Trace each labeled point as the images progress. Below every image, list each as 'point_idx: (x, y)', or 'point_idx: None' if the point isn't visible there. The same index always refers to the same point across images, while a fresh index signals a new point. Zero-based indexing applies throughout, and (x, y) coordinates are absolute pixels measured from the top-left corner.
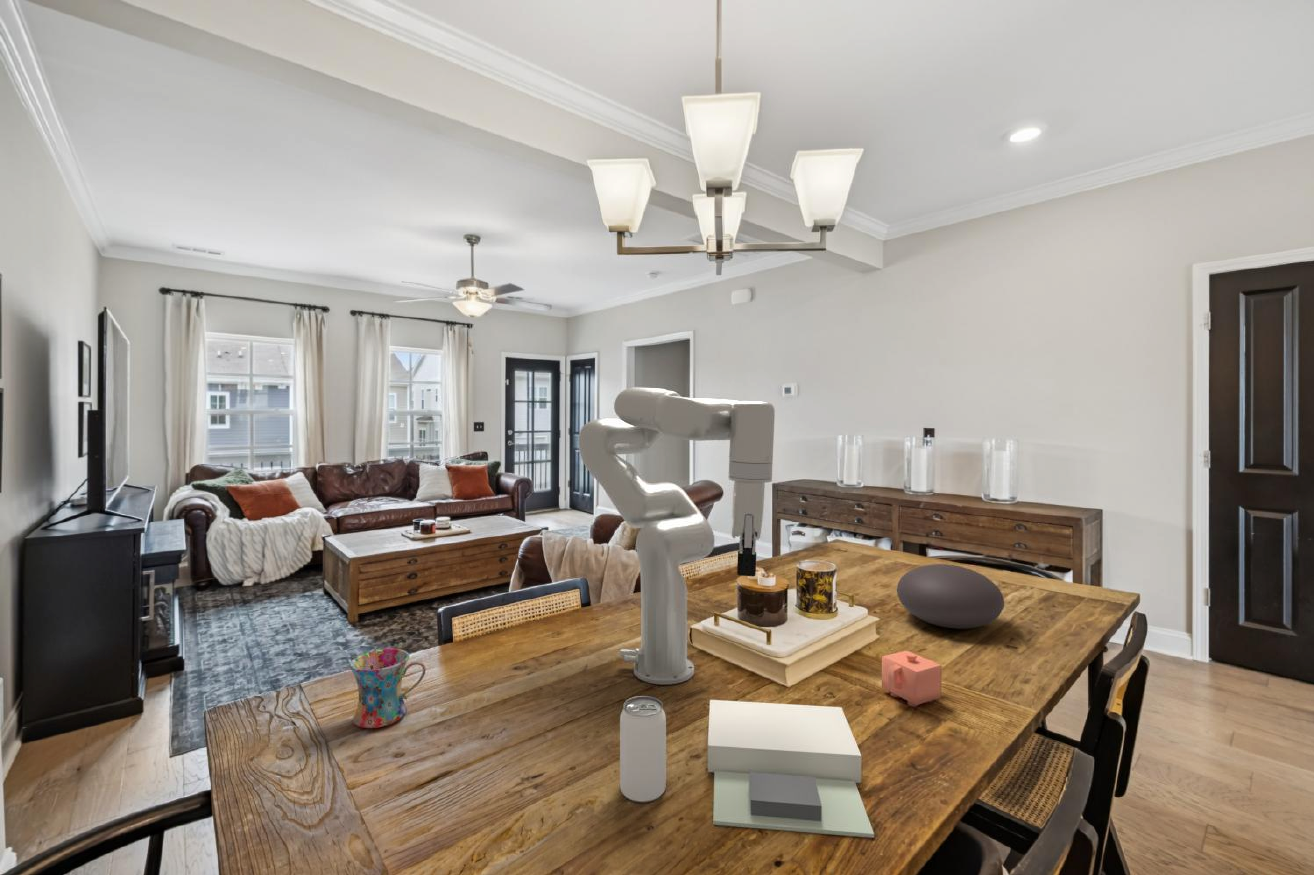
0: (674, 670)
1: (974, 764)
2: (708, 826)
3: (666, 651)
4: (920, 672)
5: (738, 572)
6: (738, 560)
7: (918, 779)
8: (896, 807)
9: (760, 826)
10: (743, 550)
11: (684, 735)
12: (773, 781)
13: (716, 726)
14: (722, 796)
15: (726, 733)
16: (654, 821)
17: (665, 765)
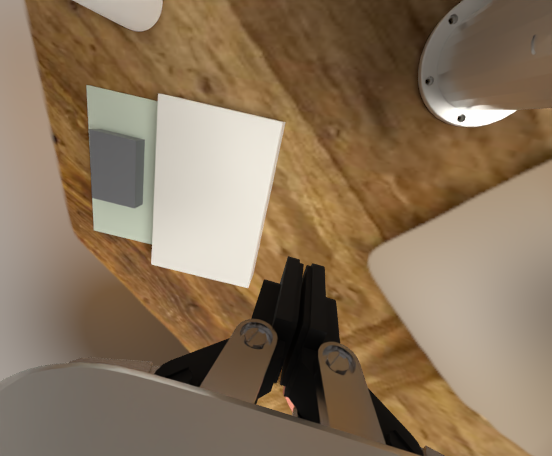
0: (442, 79)
1: (195, 348)
2: (86, 79)
3: (463, 51)
4: (285, 397)
5: (286, 263)
6: (280, 293)
7: (173, 298)
8: (135, 263)
9: None
10: (209, 348)
11: (255, 76)
12: (122, 163)
13: (205, 116)
14: (124, 104)
15: (188, 127)
16: (83, 11)
17: (112, 20)
